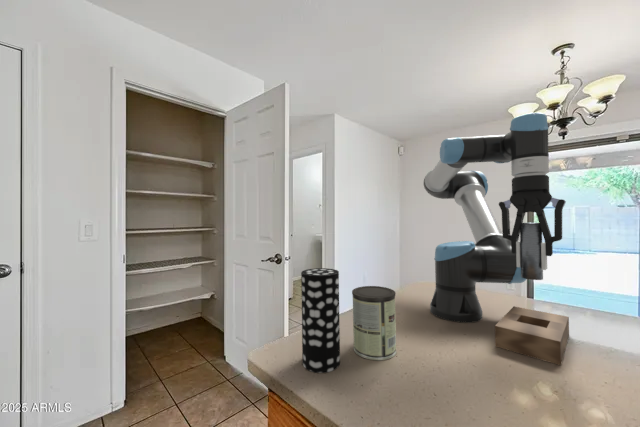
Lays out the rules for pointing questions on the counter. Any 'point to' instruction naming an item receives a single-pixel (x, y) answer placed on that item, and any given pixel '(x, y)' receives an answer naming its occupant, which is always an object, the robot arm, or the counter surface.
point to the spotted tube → (320, 319)
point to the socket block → (533, 334)
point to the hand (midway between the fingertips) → (531, 267)
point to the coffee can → (374, 322)
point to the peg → (531, 251)
